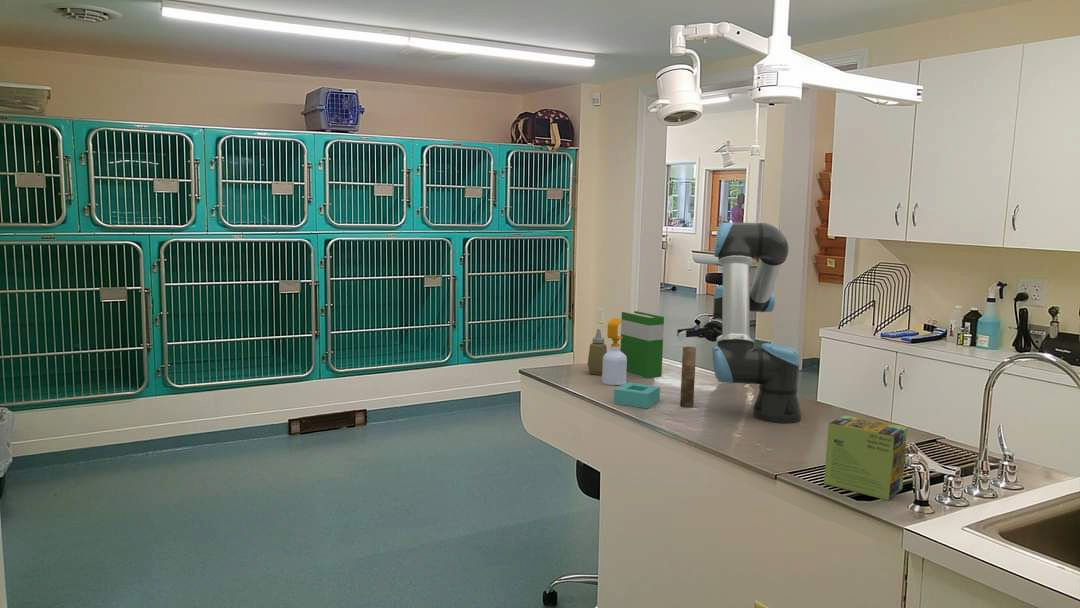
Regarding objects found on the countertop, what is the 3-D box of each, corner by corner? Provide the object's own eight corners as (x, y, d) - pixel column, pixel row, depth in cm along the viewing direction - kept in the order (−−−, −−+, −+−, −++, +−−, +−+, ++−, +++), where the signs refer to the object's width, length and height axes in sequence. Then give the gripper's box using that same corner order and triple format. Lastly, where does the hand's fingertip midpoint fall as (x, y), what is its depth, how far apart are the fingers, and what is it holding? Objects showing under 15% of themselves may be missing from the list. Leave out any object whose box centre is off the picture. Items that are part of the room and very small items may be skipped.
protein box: (889, 501, 172) (895, 436, 170) (823, 484, 182) (827, 422, 180) (903, 489, 180) (908, 426, 178) (838, 473, 190) (843, 414, 188)
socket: (659, 401, 258) (660, 386, 257) (647, 408, 247) (647, 394, 247) (627, 396, 263) (627, 382, 263) (613, 403, 253) (614, 389, 252)
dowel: (695, 405, 253) (697, 347, 250) (691, 408, 249) (693, 349, 246) (682, 403, 255) (685, 346, 252) (678, 406, 251) (681, 348, 249)
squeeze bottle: (607, 372, 302) (609, 328, 300) (607, 376, 294) (608, 331, 292) (587, 371, 303) (588, 327, 300) (586, 375, 295) (588, 330, 292)
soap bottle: (629, 382, 284) (632, 318, 281) (619, 387, 277) (621, 321, 274) (609, 379, 289) (611, 316, 286) (597, 383, 282) (599, 319, 278)
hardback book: (619, 369, 307) (621, 312, 304) (633, 368, 311) (636, 311, 307) (646, 378, 292) (649, 318, 289) (661, 376, 296) (664, 316, 292)
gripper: (748, 343, 271) (733, 354, 253) (682, 336, 283) (663, 345, 265) (749, 323, 270) (734, 332, 252) (683, 317, 282) (664, 325, 264)
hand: (698, 339), depth 258 cm, fingers open, 13 cm apart
